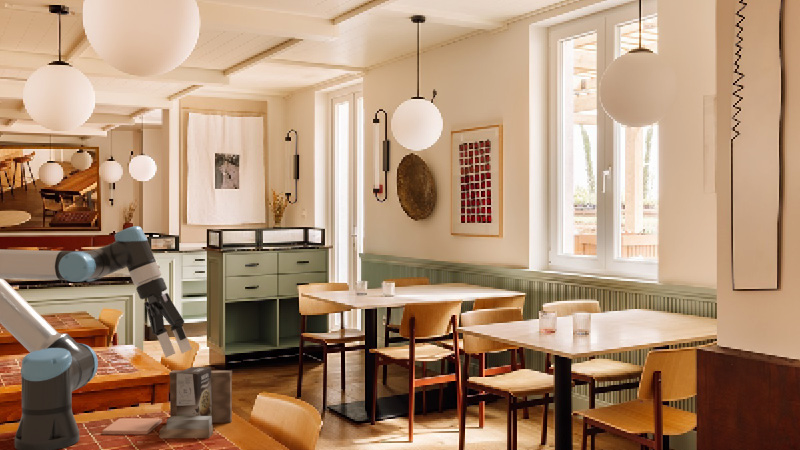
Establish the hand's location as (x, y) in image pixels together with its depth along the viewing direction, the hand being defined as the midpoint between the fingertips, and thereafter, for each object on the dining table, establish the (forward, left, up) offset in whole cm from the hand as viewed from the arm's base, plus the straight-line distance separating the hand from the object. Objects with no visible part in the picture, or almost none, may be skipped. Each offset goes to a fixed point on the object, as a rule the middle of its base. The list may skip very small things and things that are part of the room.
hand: (178, 353), depth 211 cm
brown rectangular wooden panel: (+4, +7, -21) cm, 22 cm away
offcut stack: (+4, -7, -21) cm, 22 cm away
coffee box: (+4, 0, -21) cm, 21 cm away
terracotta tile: (-13, 0, -21) cm, 24 cm away
